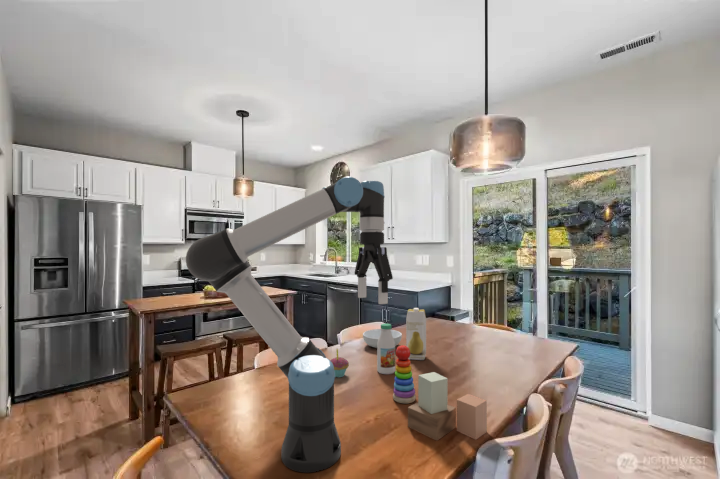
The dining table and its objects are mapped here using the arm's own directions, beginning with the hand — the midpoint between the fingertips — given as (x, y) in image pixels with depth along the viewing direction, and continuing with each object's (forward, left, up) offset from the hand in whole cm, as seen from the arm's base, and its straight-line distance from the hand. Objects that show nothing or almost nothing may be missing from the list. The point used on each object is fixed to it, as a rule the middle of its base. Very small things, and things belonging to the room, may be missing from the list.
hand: (372, 300), depth 106 cm
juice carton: (+47, +43, -37) cm, 74 cm away
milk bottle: (+25, +34, -37) cm, 56 cm away
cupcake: (+5, +39, -37) cm, 54 cm away
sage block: (+14, -11, -31) cm, 36 cm away
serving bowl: (+42, +67, -37) cm, 87 cm away
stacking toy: (+17, +8, -37) cm, 41 cm away
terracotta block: (+23, -18, -37) cm, 47 cm away
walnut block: (+14, -11, -37) cm, 41 cm away
